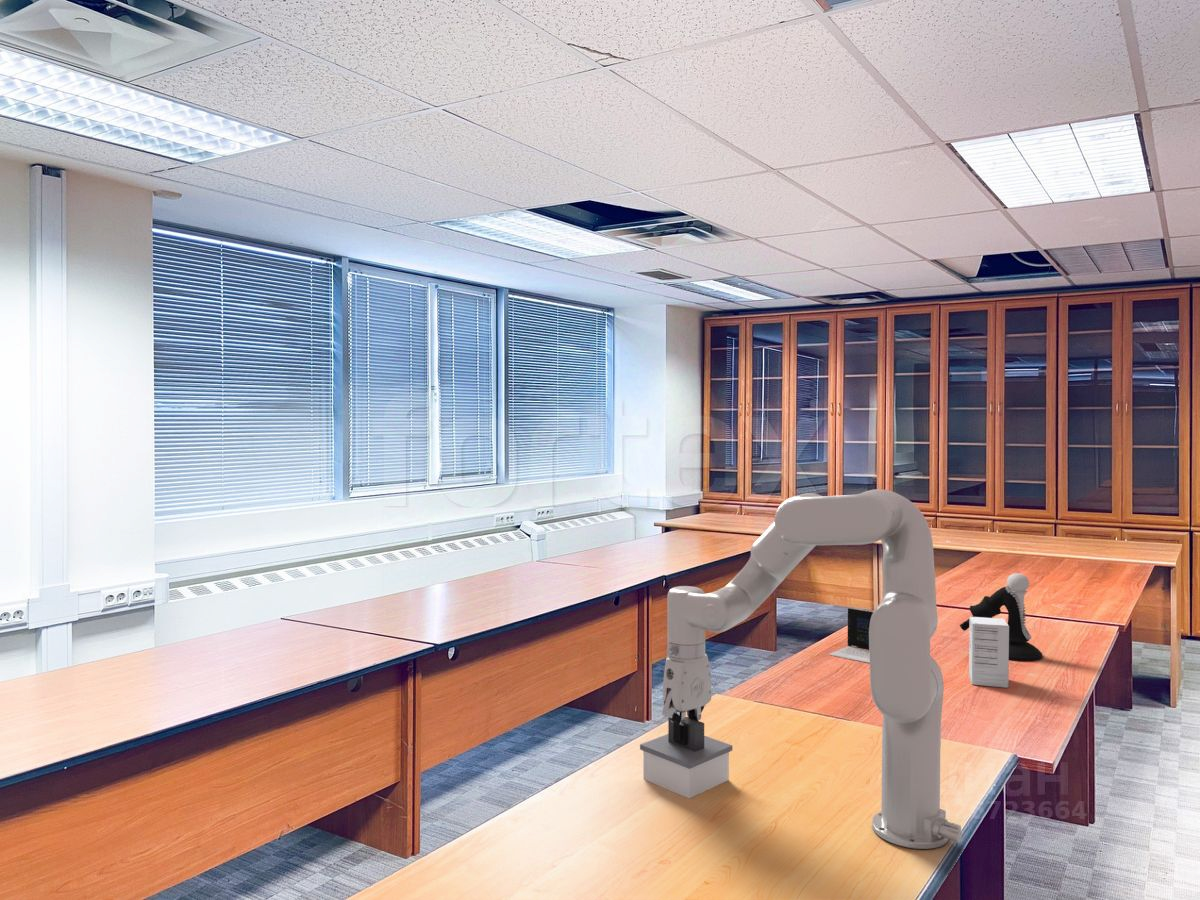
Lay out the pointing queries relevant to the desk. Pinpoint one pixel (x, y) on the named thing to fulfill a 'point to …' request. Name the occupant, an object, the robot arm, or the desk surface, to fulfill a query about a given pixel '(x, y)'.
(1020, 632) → the sculpture
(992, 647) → the supplement box
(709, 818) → the desk surface
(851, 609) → the laptop
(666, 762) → the storage box
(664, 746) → the lid
